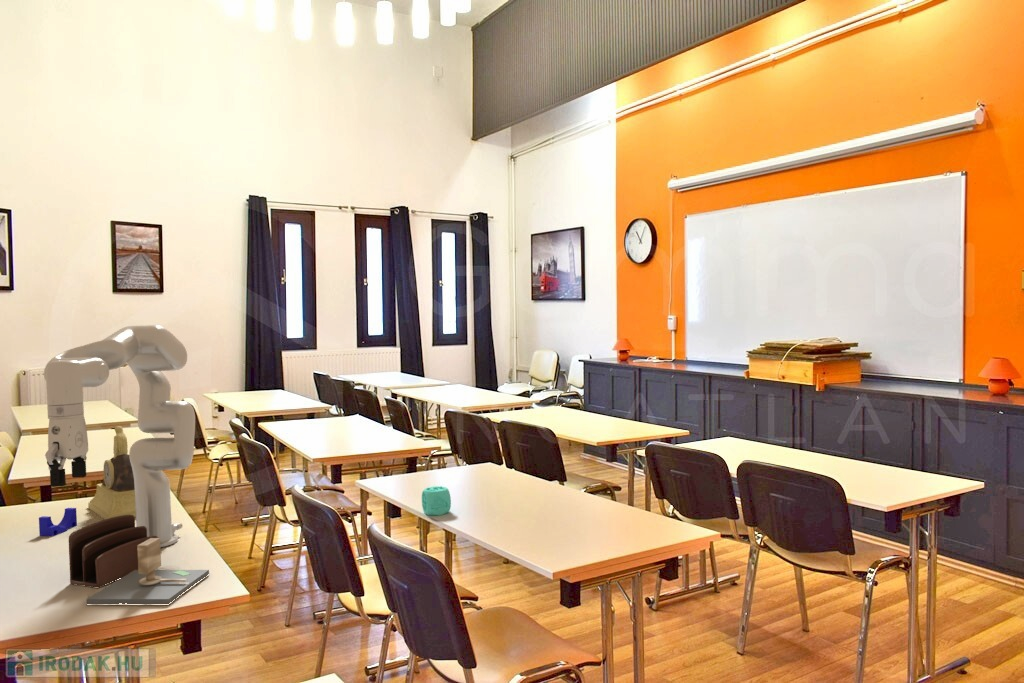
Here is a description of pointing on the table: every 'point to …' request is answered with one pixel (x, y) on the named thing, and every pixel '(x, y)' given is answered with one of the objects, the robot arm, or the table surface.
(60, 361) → the robot arm
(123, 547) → the letter holder
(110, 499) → the decorative clock
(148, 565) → the tuning knob
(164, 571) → the dial board
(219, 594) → the table surface
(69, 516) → the cable clip
